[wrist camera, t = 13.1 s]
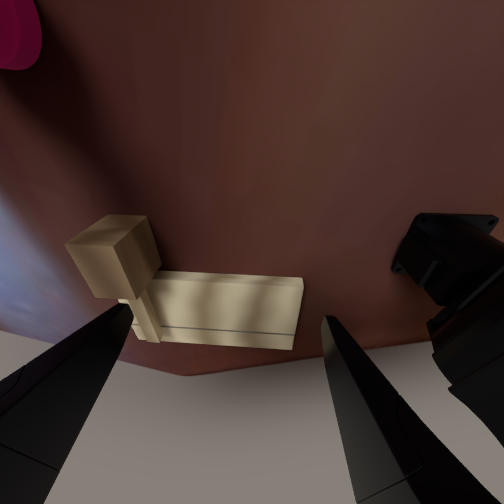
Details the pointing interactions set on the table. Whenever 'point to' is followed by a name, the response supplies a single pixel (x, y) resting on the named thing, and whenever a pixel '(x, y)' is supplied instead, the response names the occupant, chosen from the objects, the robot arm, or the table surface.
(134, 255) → the wooden mallet
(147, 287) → the board
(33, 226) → the table surface
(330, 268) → the table surface
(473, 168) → the table surface
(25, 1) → the pepper mill
